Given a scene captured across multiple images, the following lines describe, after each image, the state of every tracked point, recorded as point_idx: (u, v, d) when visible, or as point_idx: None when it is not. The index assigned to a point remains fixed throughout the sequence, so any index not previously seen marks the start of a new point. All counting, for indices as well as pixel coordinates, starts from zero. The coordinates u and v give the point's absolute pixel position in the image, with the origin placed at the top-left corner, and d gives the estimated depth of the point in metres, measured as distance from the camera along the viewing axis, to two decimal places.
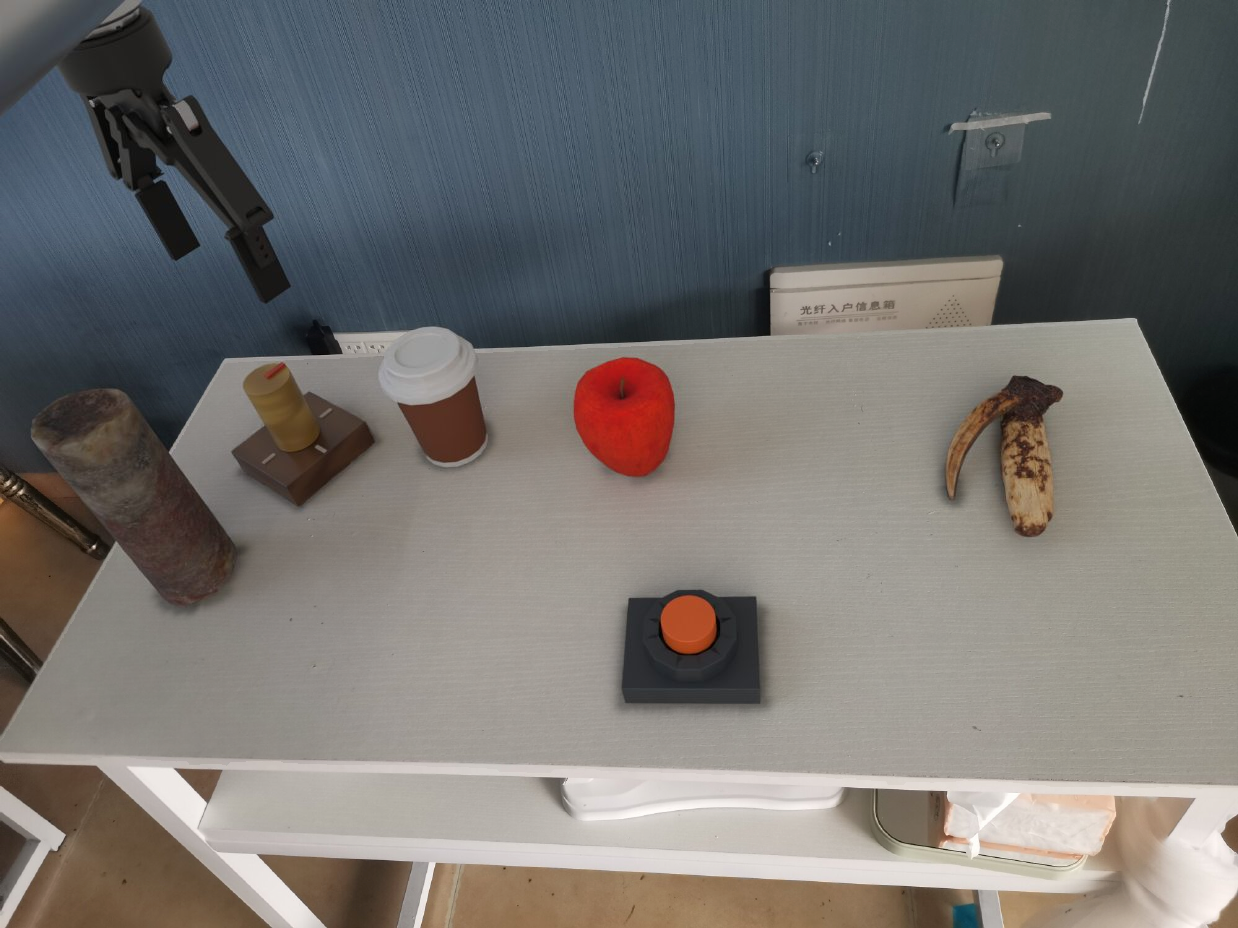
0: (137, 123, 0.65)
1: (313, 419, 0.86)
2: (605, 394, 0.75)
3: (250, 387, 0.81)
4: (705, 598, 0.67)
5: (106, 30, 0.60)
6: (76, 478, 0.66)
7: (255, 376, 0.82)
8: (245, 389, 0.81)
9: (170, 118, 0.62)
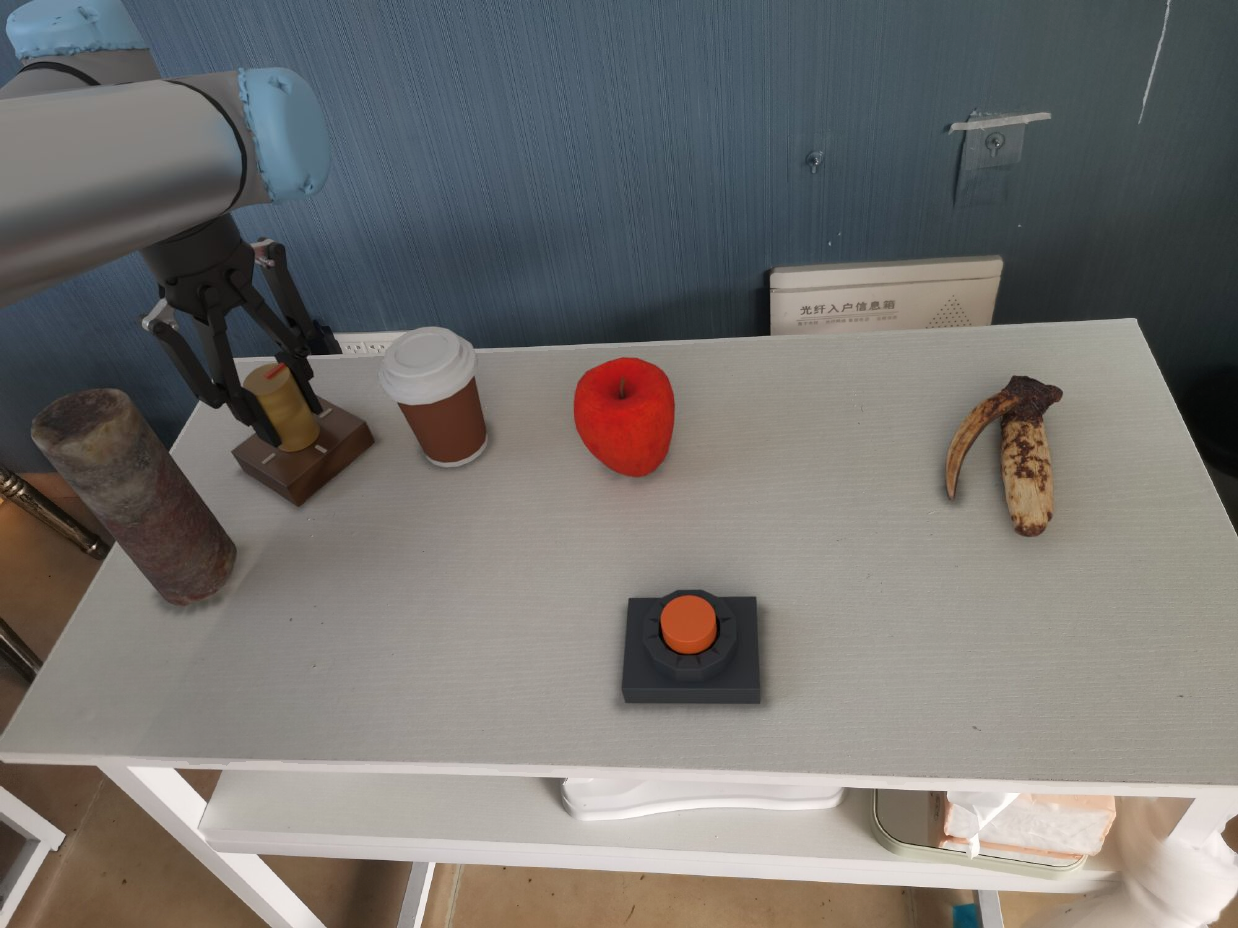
0: (242, 271, 0.74)
1: (313, 419, 0.86)
2: (605, 394, 0.75)
3: (250, 387, 0.81)
4: (705, 598, 0.67)
5: None
6: (76, 478, 0.66)
7: (255, 376, 0.82)
8: None
9: (284, 249, 0.77)
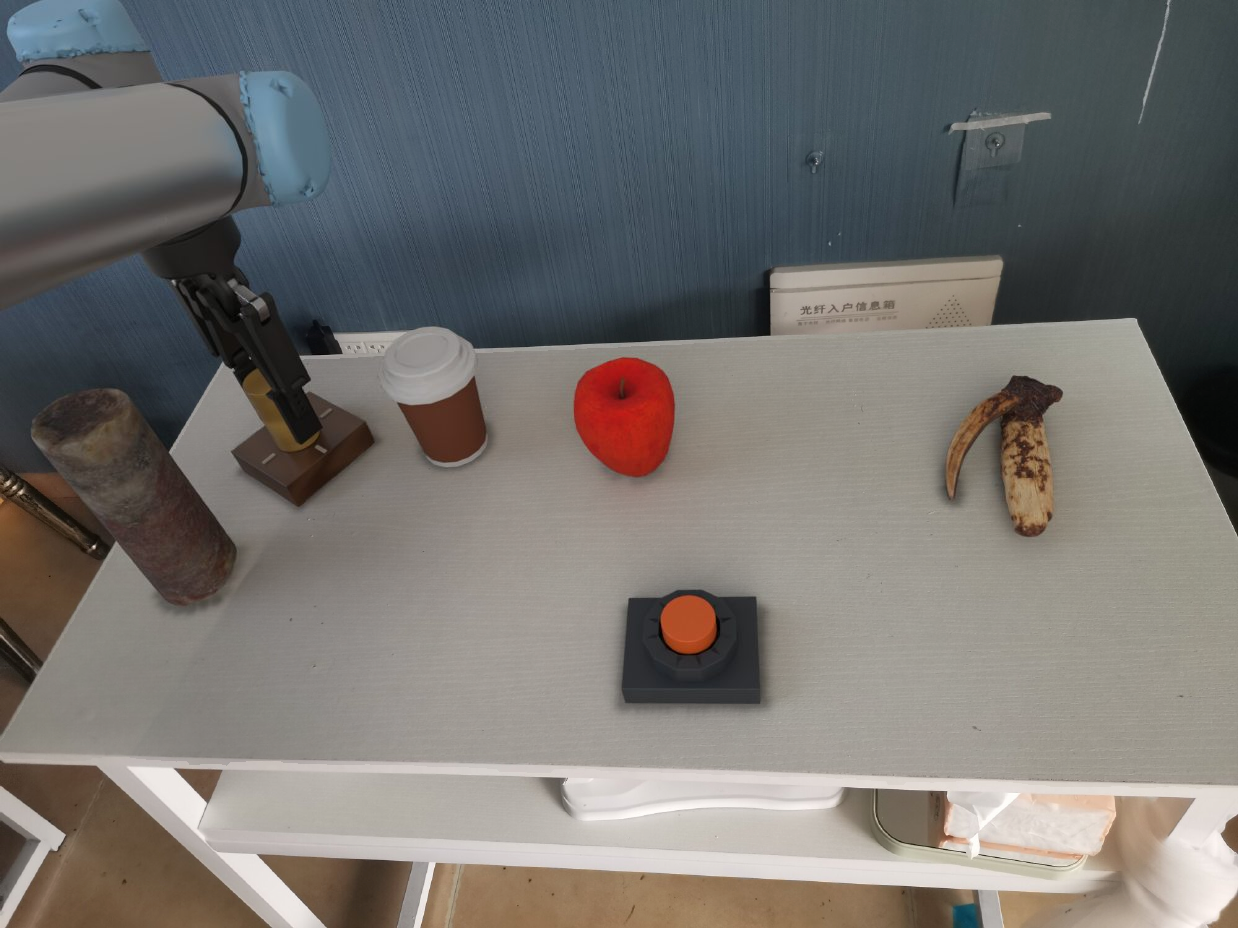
0: (209, 298, 0.72)
1: (288, 439, 0.84)
2: (605, 394, 0.75)
3: (258, 371, 0.82)
4: (705, 598, 0.67)
5: None
6: (76, 478, 0.66)
7: None
8: None
9: (250, 317, 0.70)
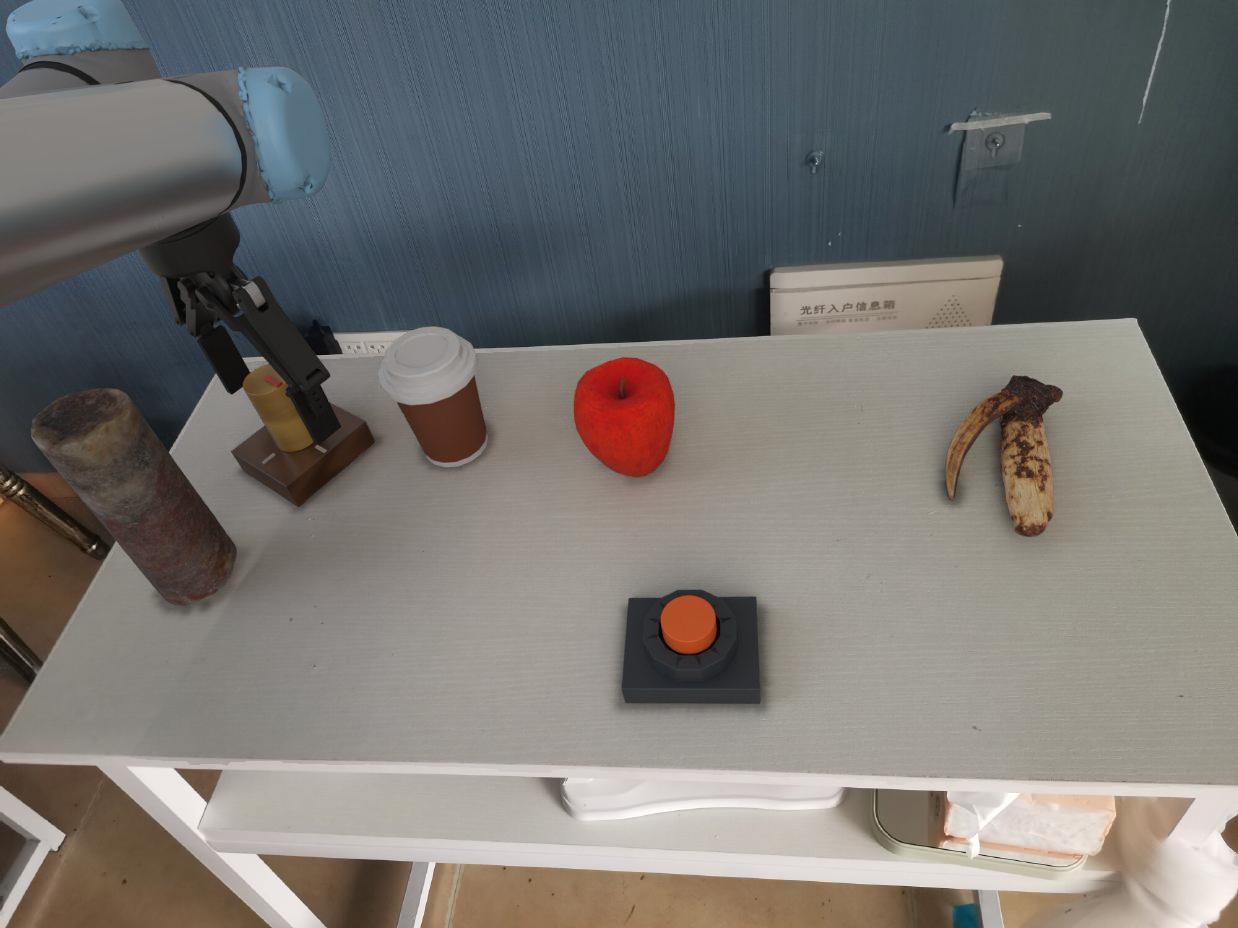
0: (208, 297, 0.72)
1: (288, 439, 0.84)
2: (605, 394, 0.75)
3: (258, 371, 0.82)
4: (705, 598, 0.67)
5: None
6: (76, 478, 0.66)
7: None
8: (258, 368, 0.83)
9: (241, 299, 0.69)
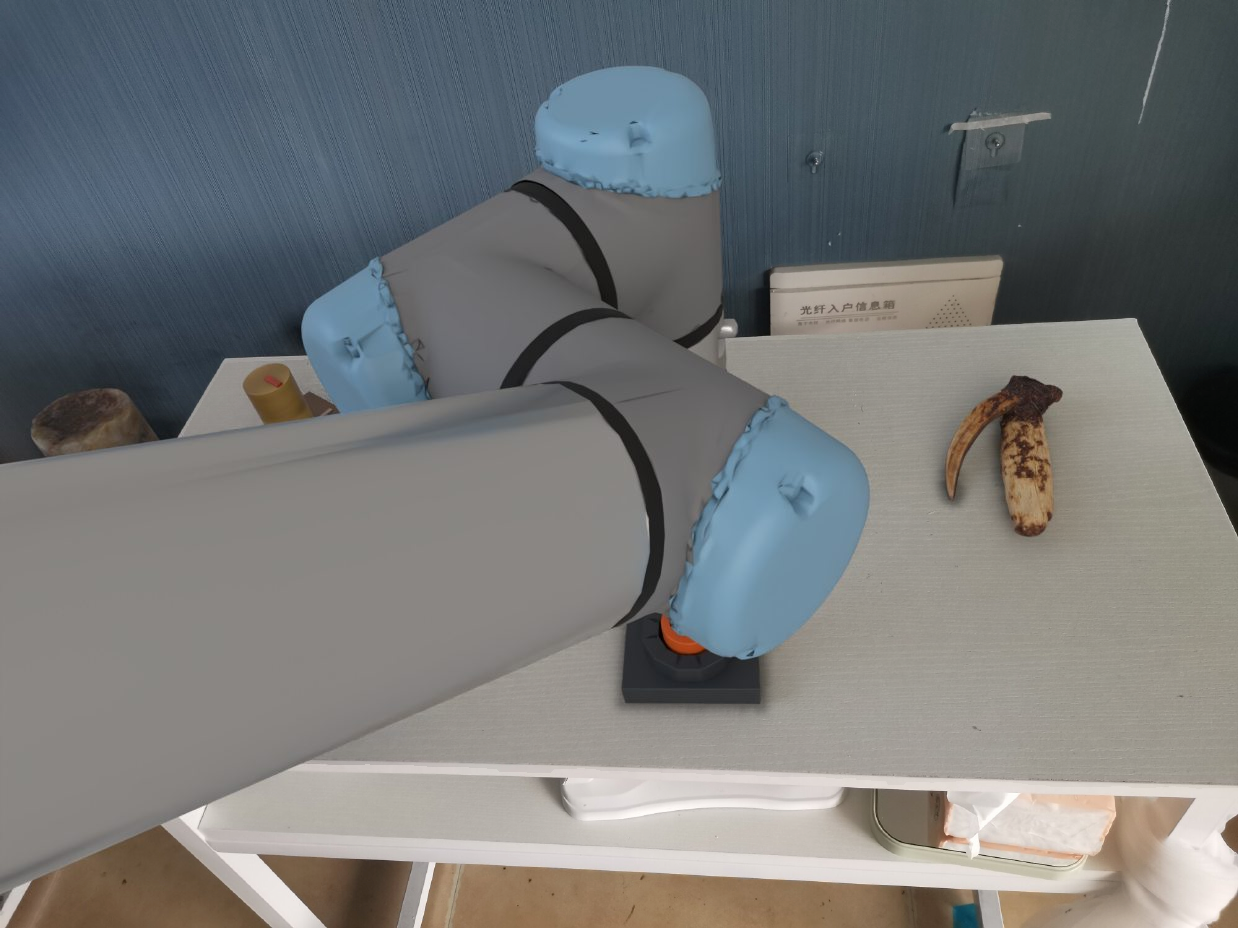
0: None
1: None
2: None
3: (258, 371, 0.82)
4: None
5: None
6: None
7: (274, 369, 0.82)
8: (258, 368, 0.83)
9: None
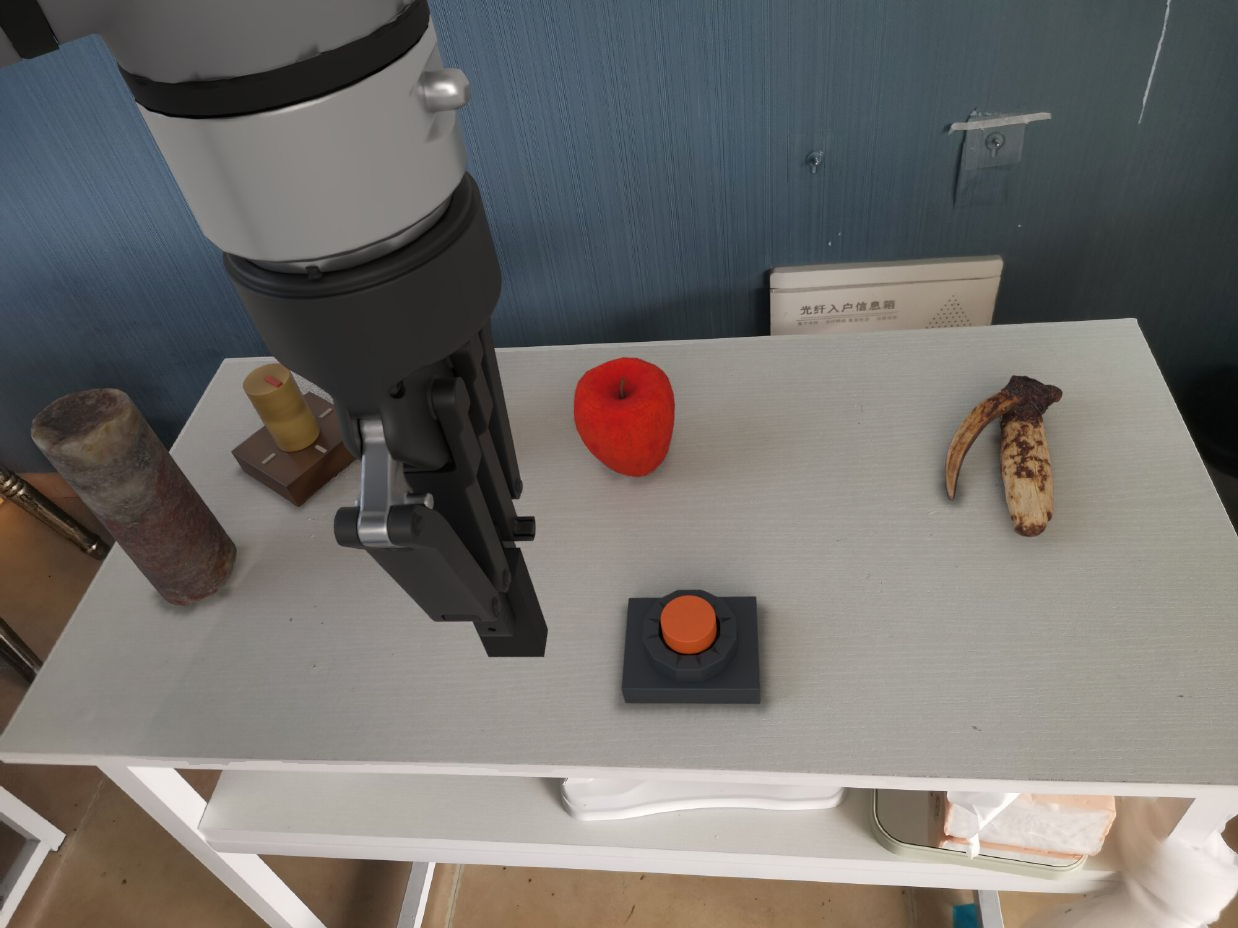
0: None
1: (288, 439, 0.84)
2: (605, 394, 0.75)
3: (258, 371, 0.82)
4: (705, 598, 0.67)
5: (282, 265, 0.23)
6: (77, 478, 0.66)
7: (274, 369, 0.82)
8: (258, 368, 0.83)
9: None
